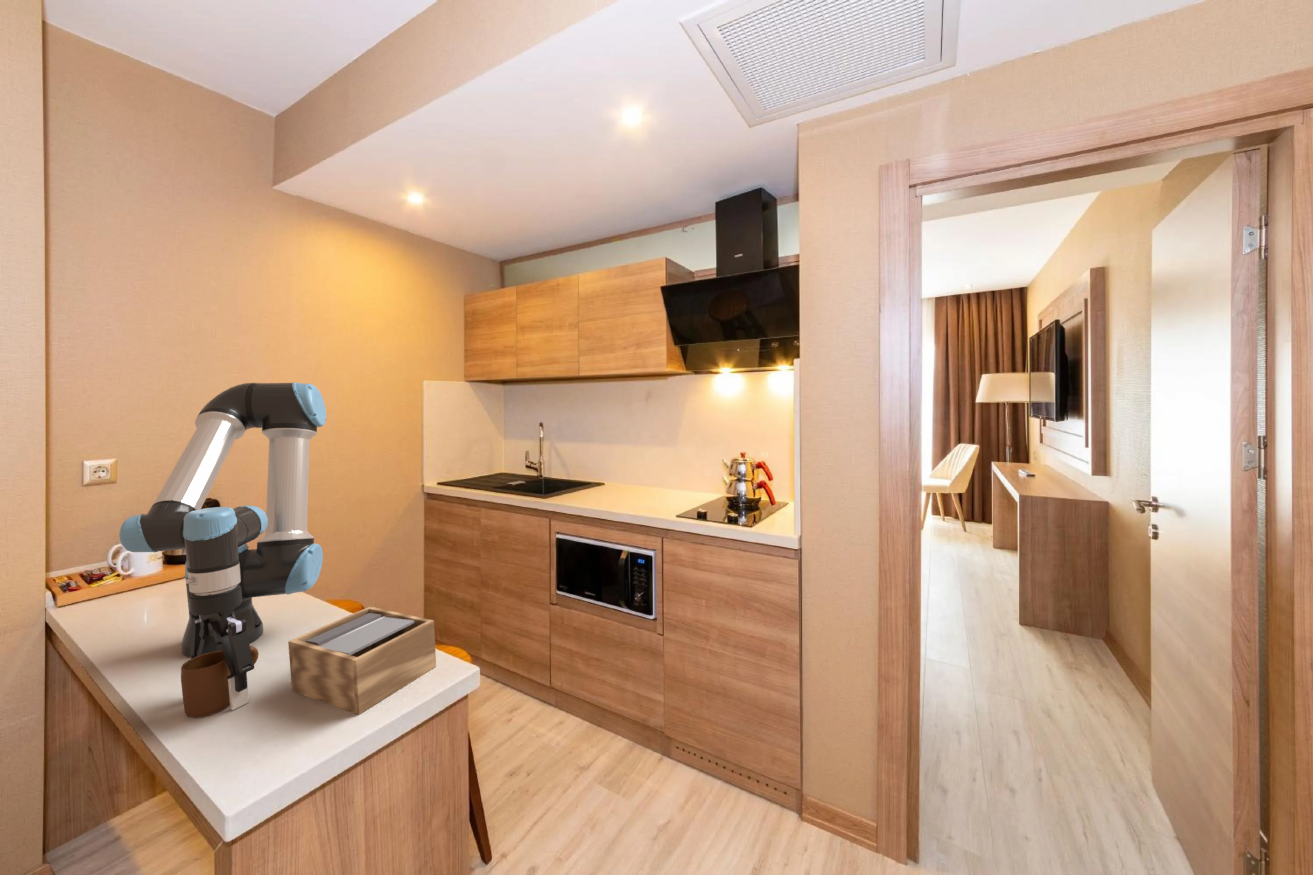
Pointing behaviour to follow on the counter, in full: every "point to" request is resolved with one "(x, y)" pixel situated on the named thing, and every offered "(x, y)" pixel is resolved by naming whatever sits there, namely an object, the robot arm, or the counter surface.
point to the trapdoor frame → (362, 664)
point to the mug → (207, 683)
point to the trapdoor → (359, 633)
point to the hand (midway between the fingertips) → (224, 699)
